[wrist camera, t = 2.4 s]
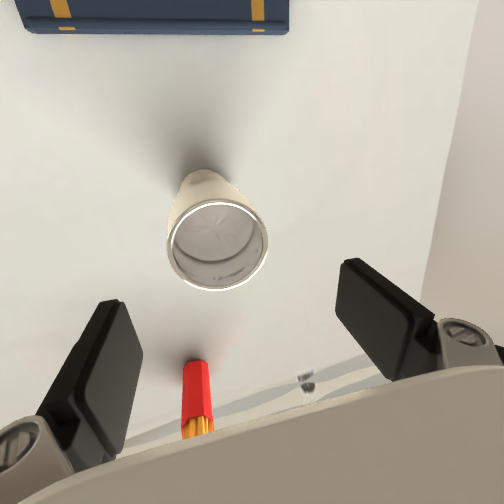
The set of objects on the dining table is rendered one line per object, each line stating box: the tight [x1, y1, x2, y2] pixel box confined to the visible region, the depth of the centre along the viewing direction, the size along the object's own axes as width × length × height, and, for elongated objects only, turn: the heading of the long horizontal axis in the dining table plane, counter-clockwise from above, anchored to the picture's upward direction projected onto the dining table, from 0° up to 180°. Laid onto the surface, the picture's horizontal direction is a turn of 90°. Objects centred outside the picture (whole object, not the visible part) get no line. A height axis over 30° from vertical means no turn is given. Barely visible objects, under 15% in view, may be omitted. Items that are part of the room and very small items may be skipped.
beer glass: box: [167, 169, 268, 291], centre depth 22 cm, size 7×7×15 cm
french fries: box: [181, 360, 214, 440], centre depth 35 cm, size 9×4×13 cm, turn 179°
